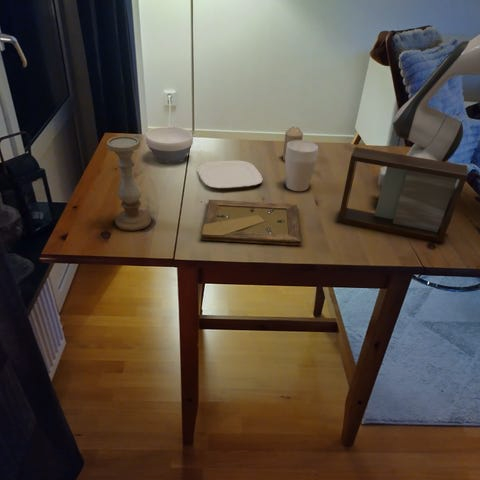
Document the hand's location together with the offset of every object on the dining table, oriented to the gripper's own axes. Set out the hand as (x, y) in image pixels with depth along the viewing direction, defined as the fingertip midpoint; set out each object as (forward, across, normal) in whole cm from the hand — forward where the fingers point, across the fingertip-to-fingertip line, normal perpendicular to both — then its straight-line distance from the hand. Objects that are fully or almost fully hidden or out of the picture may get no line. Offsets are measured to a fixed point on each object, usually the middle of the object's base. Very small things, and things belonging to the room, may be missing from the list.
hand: (416, 193), depth 116 cm
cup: (-10, -32, +9) cm, 35 cm away
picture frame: (+17, -38, +9) cm, 42 cm away
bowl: (-12, -75, +9) cm, 76 cm away
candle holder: (+28, -65, +9) cm, 72 cm away
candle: (-28, -39, +9) cm, 49 cm away
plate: (-6, -52, +9) cm, 54 cm away
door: (0, -3, +7) cm, 7 cm away
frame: (+4, -4, +8) cm, 10 cm away
